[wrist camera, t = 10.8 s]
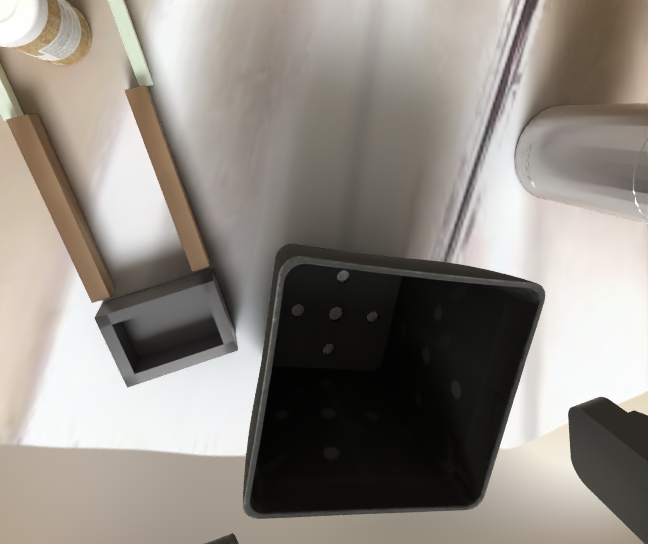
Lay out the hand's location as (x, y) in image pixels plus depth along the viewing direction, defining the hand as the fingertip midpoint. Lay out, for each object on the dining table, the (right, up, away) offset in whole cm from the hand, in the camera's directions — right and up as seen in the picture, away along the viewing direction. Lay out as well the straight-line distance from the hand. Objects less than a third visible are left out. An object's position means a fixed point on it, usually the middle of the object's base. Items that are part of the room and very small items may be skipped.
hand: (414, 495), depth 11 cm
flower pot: (-1, +1, +37) cm, 37 cm away
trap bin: (-16, +1, +33) cm, 37 cm away
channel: (-19, +12, +29) cm, 37 cm away
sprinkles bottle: (-22, +23, +25) cm, 40 cm away
